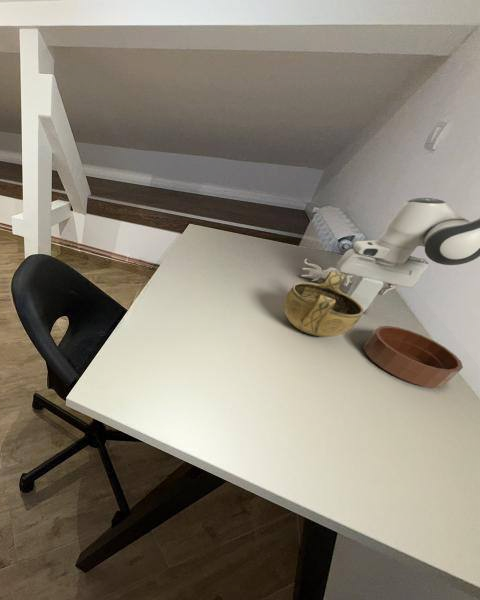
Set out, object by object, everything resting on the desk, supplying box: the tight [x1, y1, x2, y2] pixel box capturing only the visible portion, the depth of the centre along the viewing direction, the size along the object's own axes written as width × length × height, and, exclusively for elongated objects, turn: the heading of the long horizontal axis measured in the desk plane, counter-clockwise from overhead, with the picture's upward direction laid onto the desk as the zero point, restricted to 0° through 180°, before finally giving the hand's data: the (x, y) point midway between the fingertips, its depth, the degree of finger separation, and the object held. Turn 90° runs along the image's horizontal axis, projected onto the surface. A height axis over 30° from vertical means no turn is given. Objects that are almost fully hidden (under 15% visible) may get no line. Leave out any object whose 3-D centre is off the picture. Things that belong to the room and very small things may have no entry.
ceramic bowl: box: [283, 271, 364, 338], centre depth 87 cm, size 22×17×15 cm
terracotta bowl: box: [362, 325, 464, 389], centre depth 79 cm, size 17×17×6 cm
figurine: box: [300, 258, 341, 282], centre depth 117 cm, size 8×9×12 cm
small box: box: [345, 276, 385, 313], centre depth 102 cm, size 8×6×10 cm
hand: (362, 289), depth 102 cm, fingers open, 8 cm apart
